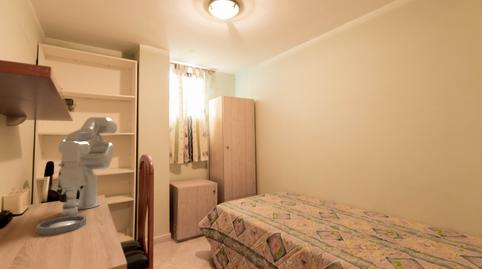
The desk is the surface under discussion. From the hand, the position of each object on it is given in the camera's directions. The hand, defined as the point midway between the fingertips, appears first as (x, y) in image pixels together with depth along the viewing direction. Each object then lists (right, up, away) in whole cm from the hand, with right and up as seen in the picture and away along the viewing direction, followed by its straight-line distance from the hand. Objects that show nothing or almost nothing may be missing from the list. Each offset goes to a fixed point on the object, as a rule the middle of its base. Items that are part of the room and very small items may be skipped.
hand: (69, 200), depth 117 cm
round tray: (+8, -8, -15) cm, 19 cm away
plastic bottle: (0, -9, 0) cm, 9 cm away
